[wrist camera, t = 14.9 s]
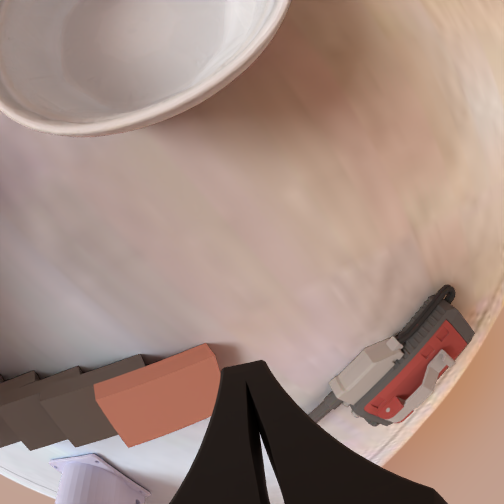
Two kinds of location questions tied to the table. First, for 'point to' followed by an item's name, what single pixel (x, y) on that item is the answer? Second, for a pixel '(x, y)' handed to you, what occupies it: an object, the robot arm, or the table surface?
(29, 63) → the ramekin
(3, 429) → the domino
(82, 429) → the domino
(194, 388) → the red domino
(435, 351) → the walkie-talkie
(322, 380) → the table surface
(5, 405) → the domino
